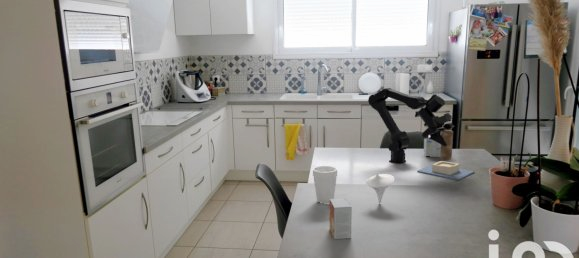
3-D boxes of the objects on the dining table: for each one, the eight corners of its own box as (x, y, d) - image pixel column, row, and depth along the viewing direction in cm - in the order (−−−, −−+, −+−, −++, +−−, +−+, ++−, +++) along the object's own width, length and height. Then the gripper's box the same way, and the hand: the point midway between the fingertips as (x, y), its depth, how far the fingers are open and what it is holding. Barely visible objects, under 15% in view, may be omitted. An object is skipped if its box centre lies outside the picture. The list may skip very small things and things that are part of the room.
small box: (329, 229, 140) (329, 198, 138) (346, 228, 140) (346, 197, 138) (333, 239, 132) (333, 207, 130) (351, 238, 132) (351, 206, 130)
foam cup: (339, 198, 168) (339, 166, 165) (334, 206, 159) (334, 173, 157) (316, 196, 171) (316, 165, 169) (310, 204, 162) (309, 171, 160)
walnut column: (440, 159, 196) (441, 131, 194) (440, 156, 201) (441, 129, 198) (451, 160, 195) (453, 132, 192) (451, 157, 199) (452, 130, 197)
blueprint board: (417, 171, 201) (417, 163, 200) (433, 165, 212) (434, 157, 211) (458, 180, 187) (459, 171, 186) (474, 172, 198) (474, 164, 197)
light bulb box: (443, 154, 233) (443, 134, 231) (446, 157, 227) (447, 137, 225) (423, 154, 234) (423, 135, 232) (425, 157, 228) (426, 137, 226)
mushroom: (379, 210, 154) (380, 179, 152) (360, 202, 163) (360, 172, 161) (400, 204, 159) (401, 174, 157) (379, 196, 168) (380, 167, 166)
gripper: (428, 110, 191) (449, 137, 184) (451, 105, 202) (472, 131, 196) (413, 125, 198) (433, 152, 192) (436, 120, 210) (455, 145, 203)
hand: (449, 145), depth 195 cm, fingers closed on walnut column, 5 cm apart
